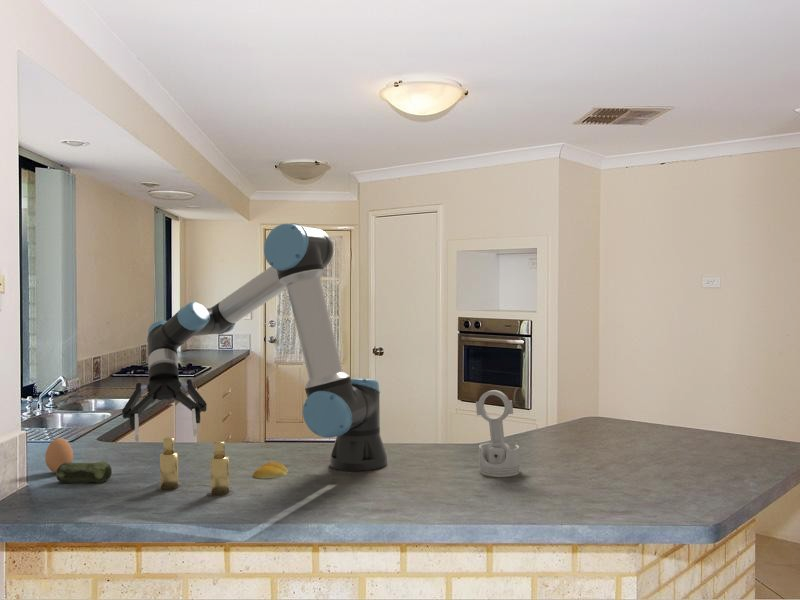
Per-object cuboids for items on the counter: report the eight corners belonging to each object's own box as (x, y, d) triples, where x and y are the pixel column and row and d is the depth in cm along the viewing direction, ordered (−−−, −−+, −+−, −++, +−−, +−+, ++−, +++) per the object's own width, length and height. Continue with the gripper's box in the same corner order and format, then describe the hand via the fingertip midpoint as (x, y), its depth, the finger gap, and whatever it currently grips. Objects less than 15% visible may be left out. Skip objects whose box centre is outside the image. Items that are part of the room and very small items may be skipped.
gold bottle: (233, 491, 155) (232, 440, 155) (222, 496, 151) (221, 444, 151) (218, 490, 156) (217, 439, 156) (207, 495, 153) (206, 443, 153)
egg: (62, 476, 177) (61, 441, 177) (39, 475, 178) (38, 440, 178) (79, 469, 184) (78, 435, 184) (57, 469, 185) (56, 435, 185)
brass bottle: (182, 486, 160) (181, 437, 160) (170, 491, 156) (169, 440, 156) (168, 485, 161) (167, 436, 161) (156, 489, 158) (155, 439, 158)
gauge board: (254, 493, 158) (254, 487, 158) (223, 509, 147) (223, 502, 146) (169, 485, 166) (169, 480, 166) (133, 499, 155) (133, 493, 155)
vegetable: (115, 479, 174) (115, 459, 174) (106, 484, 169) (106, 464, 169) (61, 479, 174) (60, 460, 174) (50, 485, 169) (49, 465, 169)
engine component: (513, 478, 166) (523, 468, 176) (511, 394, 166) (522, 388, 175) (470, 474, 171) (483, 465, 180) (469, 392, 171) (481, 387, 180)
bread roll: (248, 484, 167) (248, 468, 167) (262, 475, 175) (261, 459, 175) (280, 485, 165) (280, 468, 165) (293, 475, 174) (292, 460, 174)
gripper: (211, 375, 190) (218, 439, 176) (114, 382, 182) (112, 450, 167) (212, 357, 185) (218, 421, 171) (112, 364, 177) (110, 431, 162)
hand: (166, 435), depth 169 cm, fingers open, 13 cm apart
